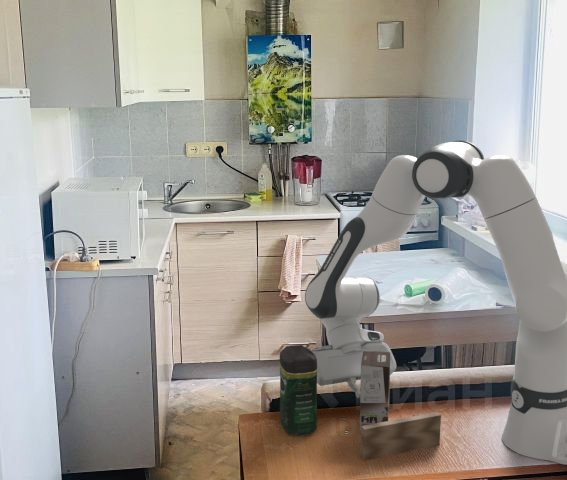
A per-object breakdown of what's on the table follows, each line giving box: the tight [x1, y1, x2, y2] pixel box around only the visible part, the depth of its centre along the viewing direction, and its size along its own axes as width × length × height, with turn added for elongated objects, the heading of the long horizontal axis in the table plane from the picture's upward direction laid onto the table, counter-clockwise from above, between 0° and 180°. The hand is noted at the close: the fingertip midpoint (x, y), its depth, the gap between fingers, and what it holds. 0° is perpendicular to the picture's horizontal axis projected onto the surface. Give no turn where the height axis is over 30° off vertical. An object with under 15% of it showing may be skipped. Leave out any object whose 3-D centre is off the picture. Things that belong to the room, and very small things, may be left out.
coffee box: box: [359, 351, 391, 433], centre depth 155 cm, size 9×6×16 cm
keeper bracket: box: [360, 411, 442, 461], centre depth 146 cm, size 18×6×7 cm, turn 109°
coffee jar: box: [279, 344, 318, 437], centre depth 154 cm, size 10×8×19 cm
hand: (363, 396), depth 161 cm, fingers closed
